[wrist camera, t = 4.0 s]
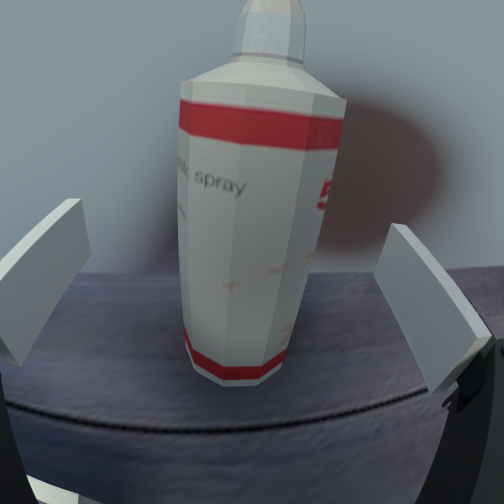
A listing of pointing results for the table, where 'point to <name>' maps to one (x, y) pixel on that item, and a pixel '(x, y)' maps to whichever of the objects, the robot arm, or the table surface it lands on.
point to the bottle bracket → (56, 494)
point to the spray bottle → (252, 194)
